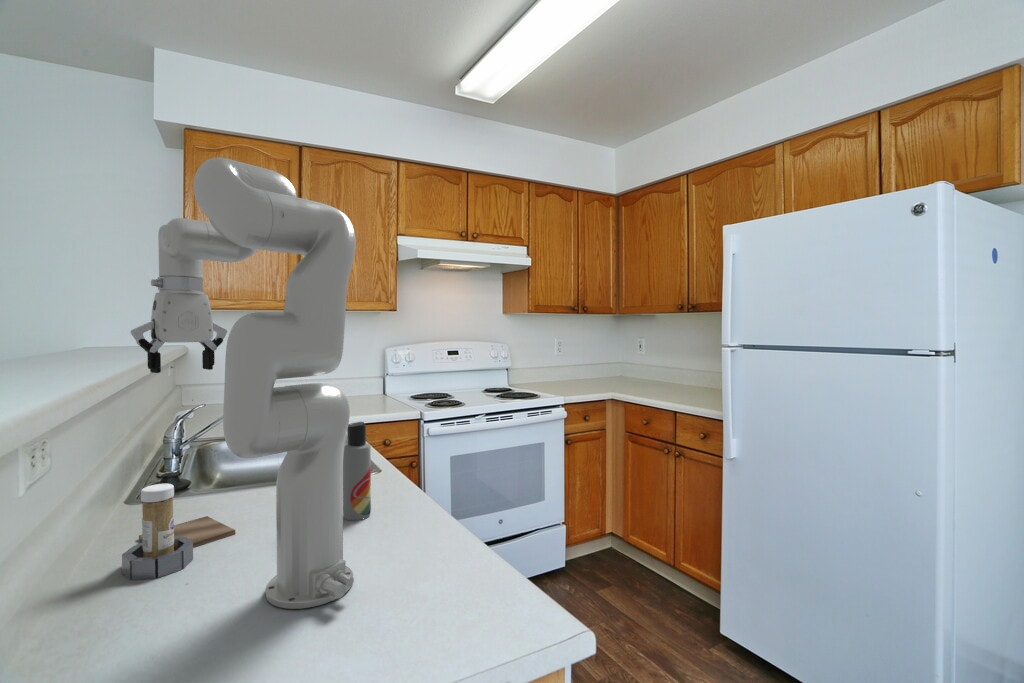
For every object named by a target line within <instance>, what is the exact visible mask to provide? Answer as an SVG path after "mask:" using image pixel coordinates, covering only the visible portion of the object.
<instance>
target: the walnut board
mask: <svg viewBox="0 0 1024 683" xmlns="http://www.w3.org/2000/svg"><path fill="white" fill-rule="evenodd" d="M234 535H236V529H234V528H233V527H230V526H228V525H226V524H224V523H222V522H220V521H218V520H216V519H214V518H212V517H209V516H203V517H199V518H195V519H192V520H188V521H184V522H181V523H177V524H174V537H180V536H183V537H186V538H188V539H190V540H191V541H193V548H196V547H199V546H203V545H205V544H209V543H212V542H215V541H219V540H222V539H225V538H227V537H230V536H234ZM138 540H139V541H141V543H143V539H142V533H141V534H138Z"/></svg>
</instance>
